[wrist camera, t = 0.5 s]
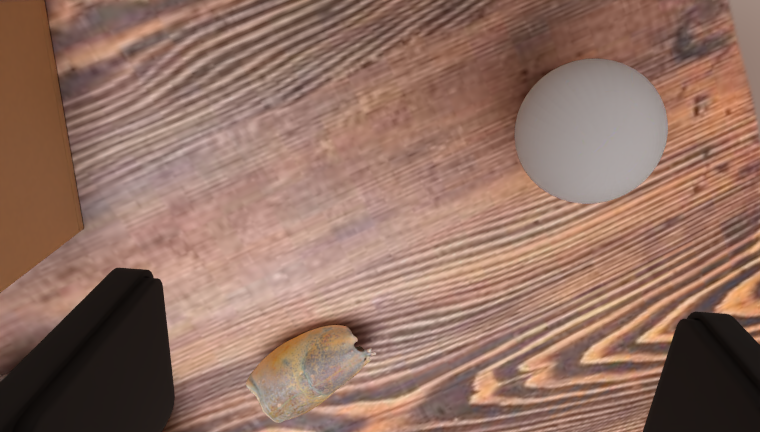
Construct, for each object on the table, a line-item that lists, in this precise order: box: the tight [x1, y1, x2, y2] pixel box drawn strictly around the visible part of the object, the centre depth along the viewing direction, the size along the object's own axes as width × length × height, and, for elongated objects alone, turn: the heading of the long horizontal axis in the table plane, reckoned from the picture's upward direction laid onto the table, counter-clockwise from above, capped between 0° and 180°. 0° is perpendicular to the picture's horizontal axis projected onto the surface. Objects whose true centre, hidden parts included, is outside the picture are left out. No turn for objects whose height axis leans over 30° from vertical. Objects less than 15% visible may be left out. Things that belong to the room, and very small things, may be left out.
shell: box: [246, 325, 376, 423], centre depth 35 cm, size 8×4×5 cm, turn 130°
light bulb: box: [515, 59, 668, 204], centre depth 25 cm, size 6×6×10 cm
